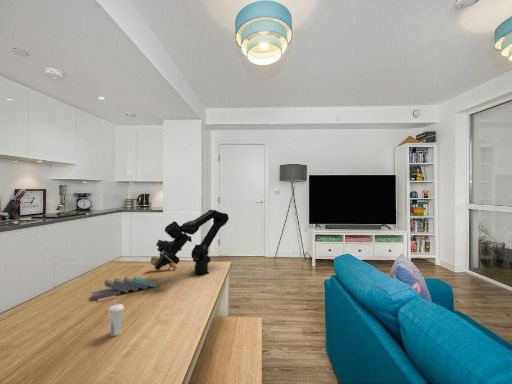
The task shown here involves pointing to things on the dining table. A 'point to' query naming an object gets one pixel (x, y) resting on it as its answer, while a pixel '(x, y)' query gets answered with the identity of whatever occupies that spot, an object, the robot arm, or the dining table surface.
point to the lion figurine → (155, 260)
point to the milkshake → (115, 319)
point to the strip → (106, 298)
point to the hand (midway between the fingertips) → (155, 268)
